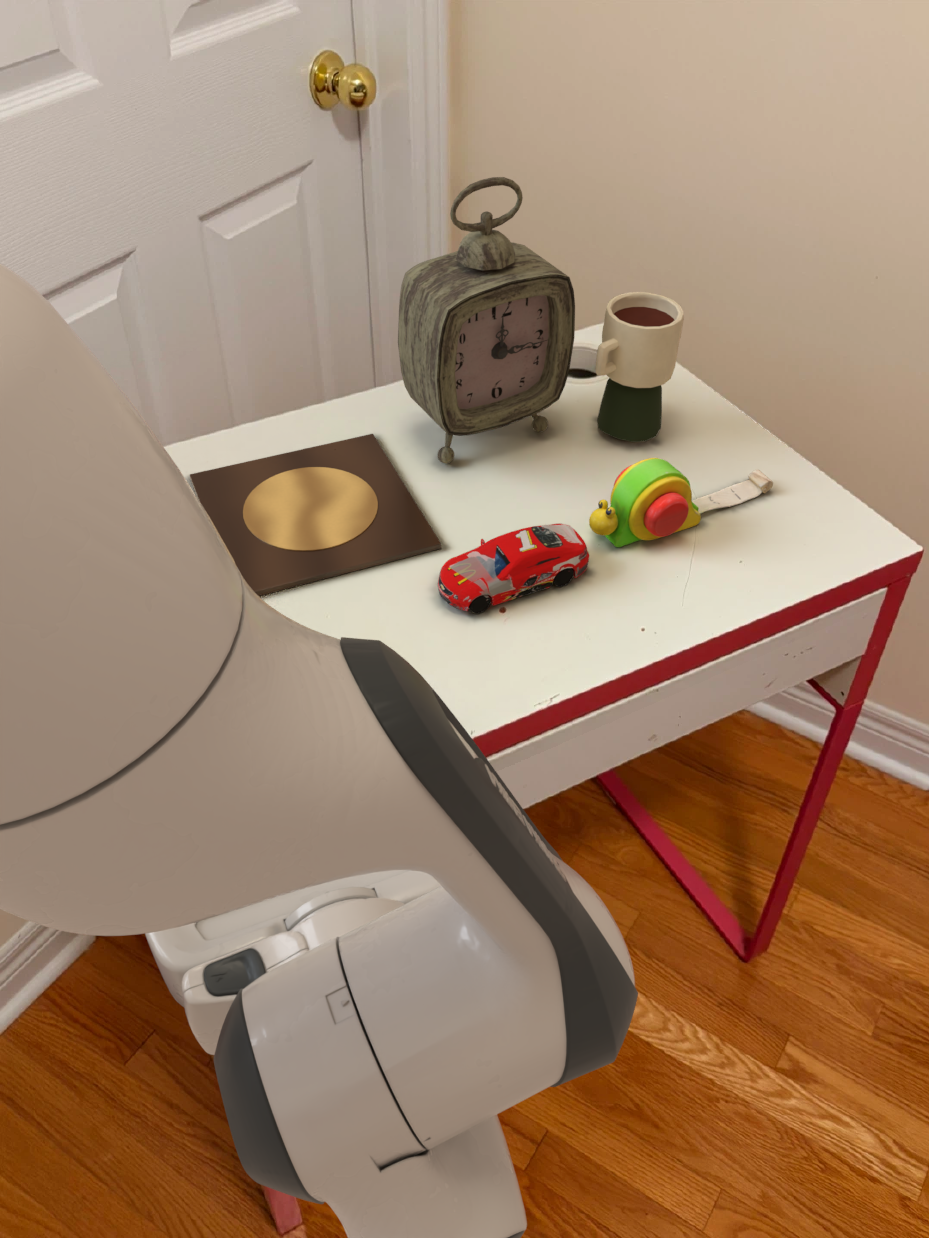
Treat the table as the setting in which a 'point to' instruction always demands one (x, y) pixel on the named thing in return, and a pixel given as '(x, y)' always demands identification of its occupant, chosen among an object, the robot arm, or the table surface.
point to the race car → (513, 566)
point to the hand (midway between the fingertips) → (282, 782)
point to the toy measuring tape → (662, 502)
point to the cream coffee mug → (637, 362)
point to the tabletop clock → (485, 330)
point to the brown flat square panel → (313, 513)
